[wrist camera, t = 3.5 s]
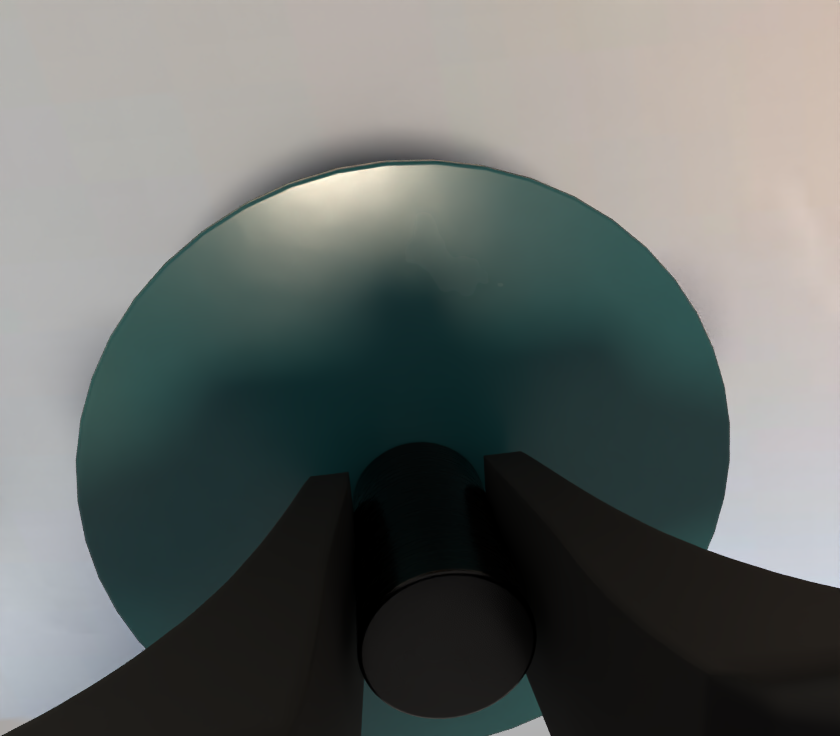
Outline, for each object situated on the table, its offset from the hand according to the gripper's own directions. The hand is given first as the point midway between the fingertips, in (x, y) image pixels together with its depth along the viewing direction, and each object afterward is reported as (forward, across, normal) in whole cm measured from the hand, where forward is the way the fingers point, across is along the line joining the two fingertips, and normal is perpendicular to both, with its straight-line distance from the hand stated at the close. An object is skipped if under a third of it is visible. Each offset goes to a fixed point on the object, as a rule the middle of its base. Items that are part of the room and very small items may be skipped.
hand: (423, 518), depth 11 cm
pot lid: (+1, 0, 0) cm, 1 cm away
